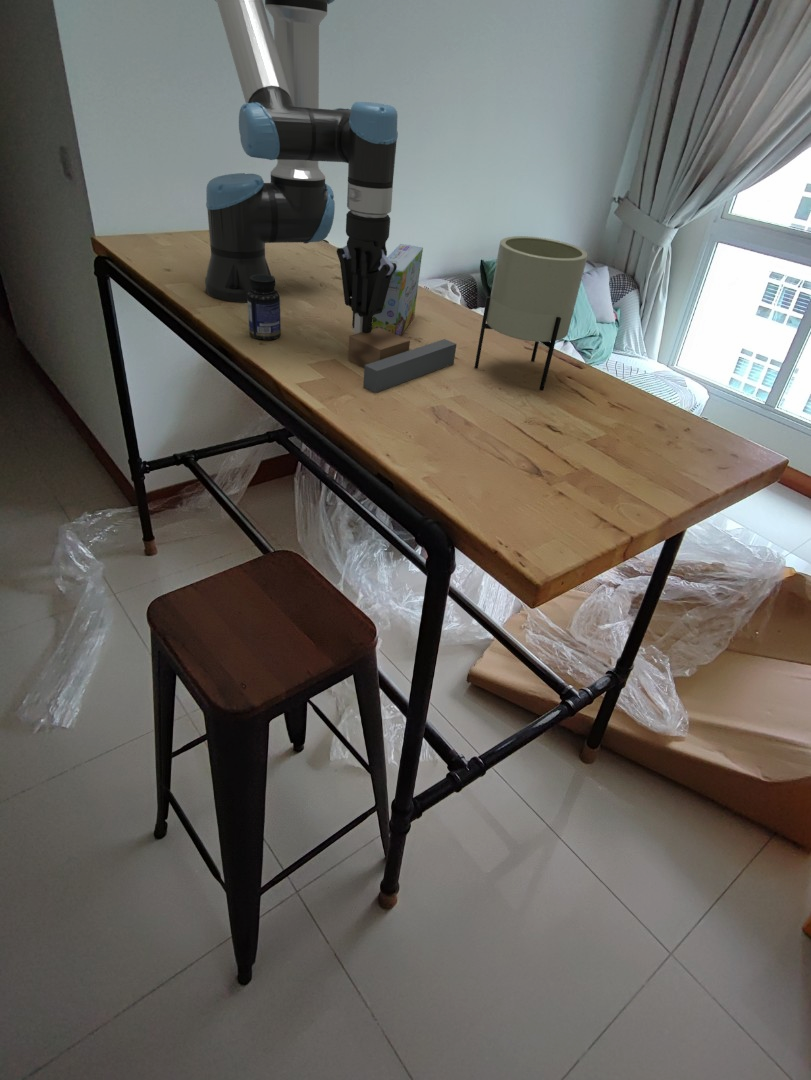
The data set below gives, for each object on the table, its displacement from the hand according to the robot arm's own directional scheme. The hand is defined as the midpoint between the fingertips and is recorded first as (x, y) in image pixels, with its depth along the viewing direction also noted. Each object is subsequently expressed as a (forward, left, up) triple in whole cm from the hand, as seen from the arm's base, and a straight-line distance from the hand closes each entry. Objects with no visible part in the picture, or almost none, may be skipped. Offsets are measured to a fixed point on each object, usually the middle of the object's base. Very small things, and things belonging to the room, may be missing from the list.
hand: (360, 347), depth 124 cm
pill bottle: (-18, -9, -2) cm, 20 cm away
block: (+5, 0, -2) cm, 5 cm away
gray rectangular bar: (+12, +1, -2) cm, 12 cm away
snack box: (-6, +16, -2) cm, 17 cm away
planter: (+24, +19, -2) cm, 31 cm away
